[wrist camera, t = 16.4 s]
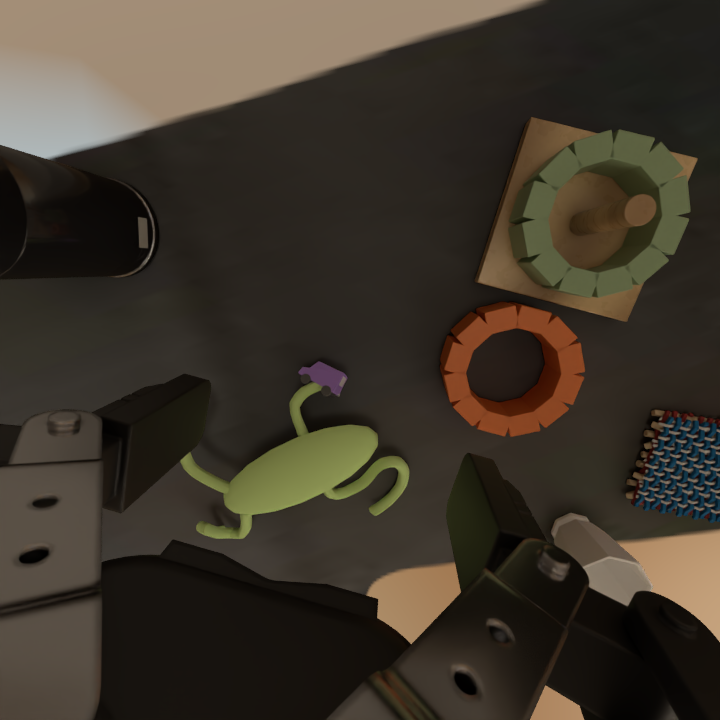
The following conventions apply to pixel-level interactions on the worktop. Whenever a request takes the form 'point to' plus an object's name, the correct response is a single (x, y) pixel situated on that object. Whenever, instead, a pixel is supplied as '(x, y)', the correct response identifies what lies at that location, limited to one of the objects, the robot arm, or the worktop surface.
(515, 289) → the ring stand
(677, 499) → the woven mat
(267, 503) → the figurine
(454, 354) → the orange ring
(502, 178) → the worktop surface
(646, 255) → the green ring
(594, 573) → the cup
